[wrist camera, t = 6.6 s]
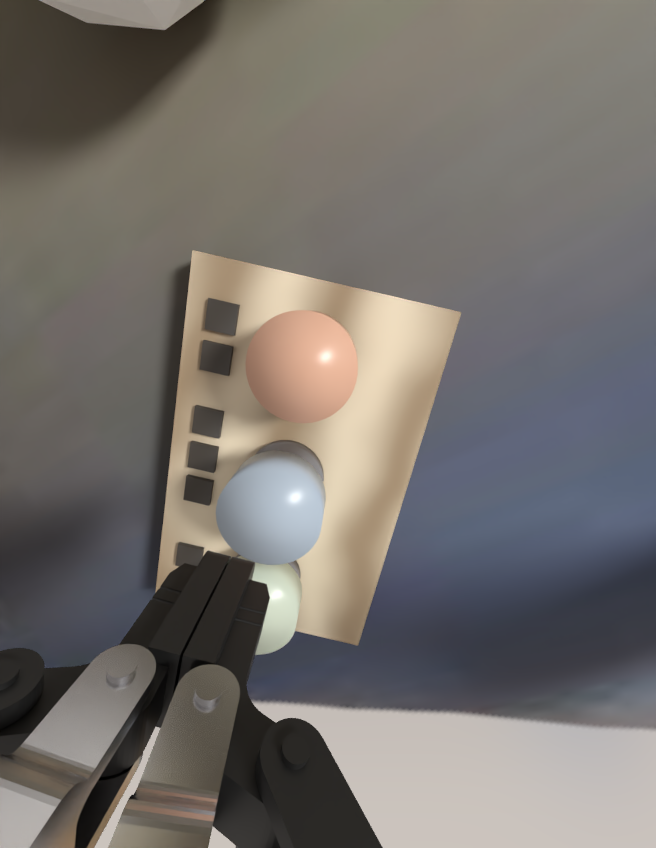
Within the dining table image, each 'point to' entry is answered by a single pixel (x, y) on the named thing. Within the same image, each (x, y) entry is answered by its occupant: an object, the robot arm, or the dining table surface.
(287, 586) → the pale green button
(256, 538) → the three dot button
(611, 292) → the dining table surface
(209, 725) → the robot arm
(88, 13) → the geometric shape
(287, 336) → the two dot button
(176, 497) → the button board
